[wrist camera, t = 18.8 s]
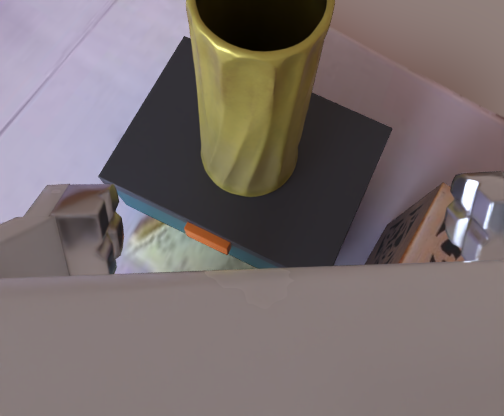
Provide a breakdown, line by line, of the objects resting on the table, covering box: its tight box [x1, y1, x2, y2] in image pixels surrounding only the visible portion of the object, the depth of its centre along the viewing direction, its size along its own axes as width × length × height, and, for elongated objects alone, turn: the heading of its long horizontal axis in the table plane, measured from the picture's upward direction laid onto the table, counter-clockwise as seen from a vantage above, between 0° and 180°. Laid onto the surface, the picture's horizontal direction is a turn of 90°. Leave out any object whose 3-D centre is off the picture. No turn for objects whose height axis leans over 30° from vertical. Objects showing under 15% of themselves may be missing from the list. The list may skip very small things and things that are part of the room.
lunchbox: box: [98, 36, 392, 269], centre depth 33 cm, size 15×12×6 cm
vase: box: [186, 0, 335, 197], centre depth 23 cm, size 6×6×14 cm
